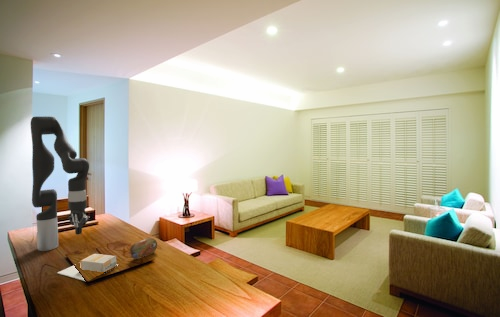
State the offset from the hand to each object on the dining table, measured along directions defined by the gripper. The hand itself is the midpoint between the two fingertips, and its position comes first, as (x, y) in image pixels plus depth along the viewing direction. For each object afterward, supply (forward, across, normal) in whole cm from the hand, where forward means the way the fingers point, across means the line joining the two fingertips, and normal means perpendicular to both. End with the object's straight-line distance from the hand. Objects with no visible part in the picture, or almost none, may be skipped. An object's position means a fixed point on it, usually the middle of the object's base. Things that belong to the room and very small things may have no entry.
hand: (78, 234), depth 127 cm
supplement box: (+12, +7, -1) cm, 14 cm away
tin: (+15, +23, +19) cm, 33 cm away
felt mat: (+15, +10, -2) cm, 18 cm away
